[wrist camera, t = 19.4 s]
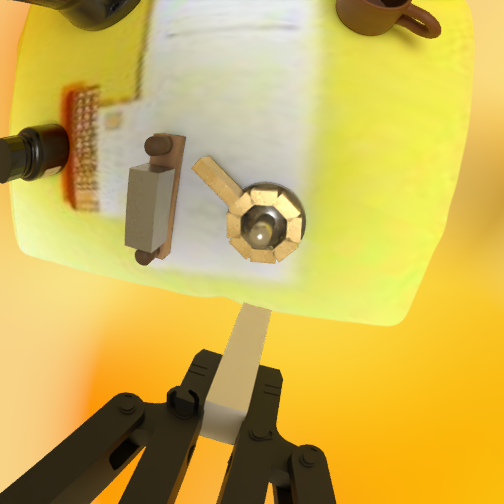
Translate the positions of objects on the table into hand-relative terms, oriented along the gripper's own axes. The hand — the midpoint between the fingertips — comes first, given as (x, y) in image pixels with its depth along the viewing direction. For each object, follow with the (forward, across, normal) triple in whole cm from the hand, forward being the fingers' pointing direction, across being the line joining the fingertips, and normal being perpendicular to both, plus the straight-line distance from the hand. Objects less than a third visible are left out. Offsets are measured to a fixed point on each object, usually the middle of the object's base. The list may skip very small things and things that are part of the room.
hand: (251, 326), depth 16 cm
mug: (+25, +6, +28) cm, 38 cm away
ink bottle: (+25, -40, +2) cm, 47 cm away
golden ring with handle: (+23, -5, 0) cm, 24 cm away
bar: (+22, -16, -2) cm, 28 cm away
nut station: (+24, -2, -2) cm, 25 cm away
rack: (+24, -16, -2) cm, 30 cm away
